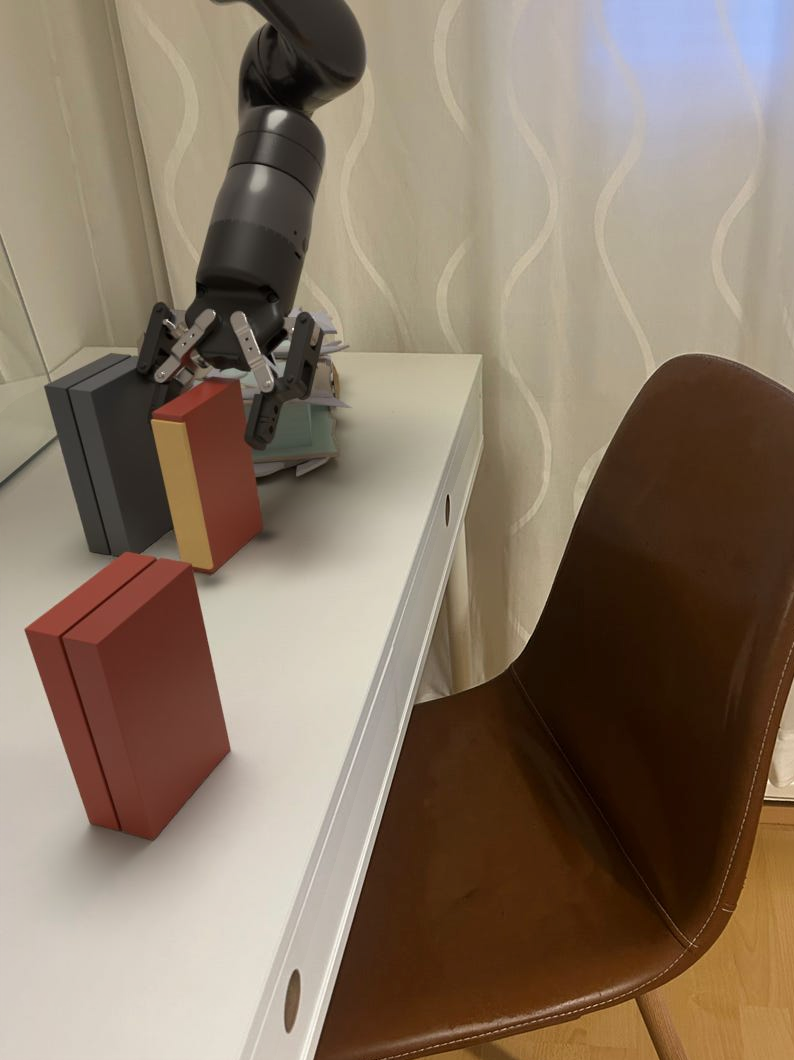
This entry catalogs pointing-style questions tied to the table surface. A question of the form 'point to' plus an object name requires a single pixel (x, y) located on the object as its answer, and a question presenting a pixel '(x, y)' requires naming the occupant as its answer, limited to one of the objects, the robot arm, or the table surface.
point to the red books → (133, 691)
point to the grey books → (111, 454)
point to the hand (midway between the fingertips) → (206, 441)
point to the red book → (208, 472)
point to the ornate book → (293, 408)
